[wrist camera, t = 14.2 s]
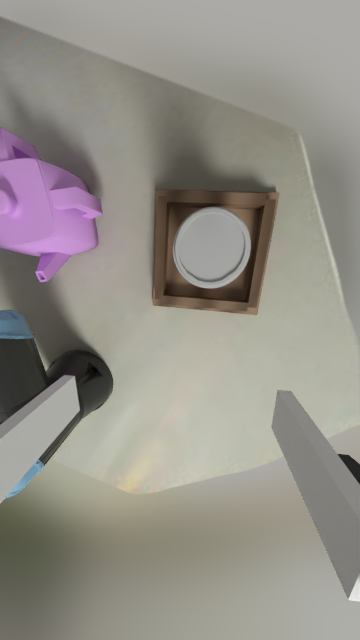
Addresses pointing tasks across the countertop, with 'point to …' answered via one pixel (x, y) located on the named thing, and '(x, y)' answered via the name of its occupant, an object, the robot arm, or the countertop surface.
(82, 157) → the countertop surface
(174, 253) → the disposable coffee cup
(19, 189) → the teakettle
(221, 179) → the countertop surface
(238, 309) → the cup caddy
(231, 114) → the countertop surface
